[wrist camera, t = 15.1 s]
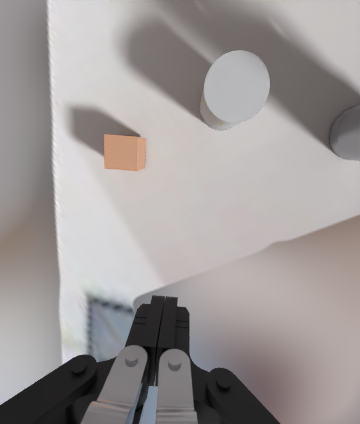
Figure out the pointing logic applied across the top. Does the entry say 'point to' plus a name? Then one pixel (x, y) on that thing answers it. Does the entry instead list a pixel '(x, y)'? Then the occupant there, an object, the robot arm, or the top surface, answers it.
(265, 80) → the white round cylinder
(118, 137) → the tan cardboard box
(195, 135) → the top surface
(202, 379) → the robot arm
